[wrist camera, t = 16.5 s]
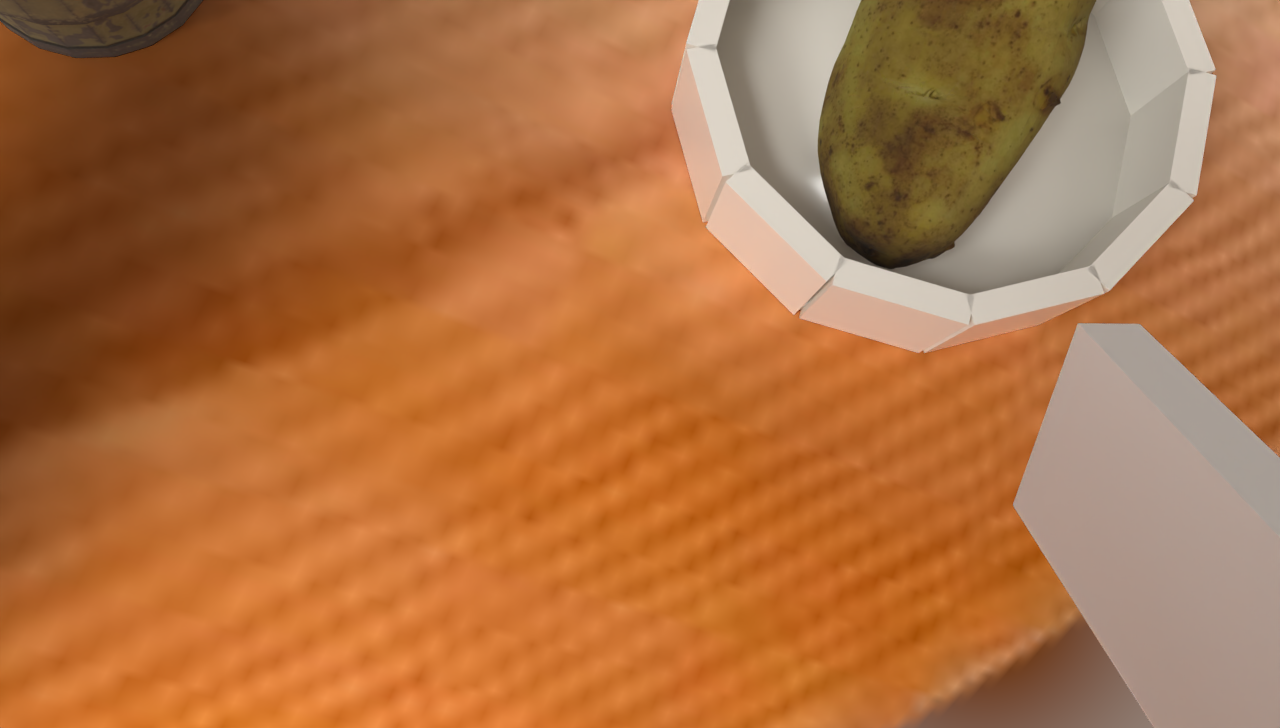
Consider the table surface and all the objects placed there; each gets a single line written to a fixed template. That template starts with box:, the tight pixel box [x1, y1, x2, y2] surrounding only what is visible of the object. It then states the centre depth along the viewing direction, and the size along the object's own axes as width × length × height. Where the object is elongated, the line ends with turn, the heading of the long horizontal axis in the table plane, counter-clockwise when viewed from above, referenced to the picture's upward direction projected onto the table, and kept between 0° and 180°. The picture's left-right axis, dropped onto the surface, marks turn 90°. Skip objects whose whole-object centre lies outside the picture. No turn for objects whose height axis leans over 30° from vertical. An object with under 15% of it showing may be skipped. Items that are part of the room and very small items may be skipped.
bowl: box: [671, 0, 1216, 353], centre depth 35 cm, size 18×18×4 cm
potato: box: [818, 0, 1096, 269], centre depth 32 cm, size 8×13×8 cm, turn 140°
